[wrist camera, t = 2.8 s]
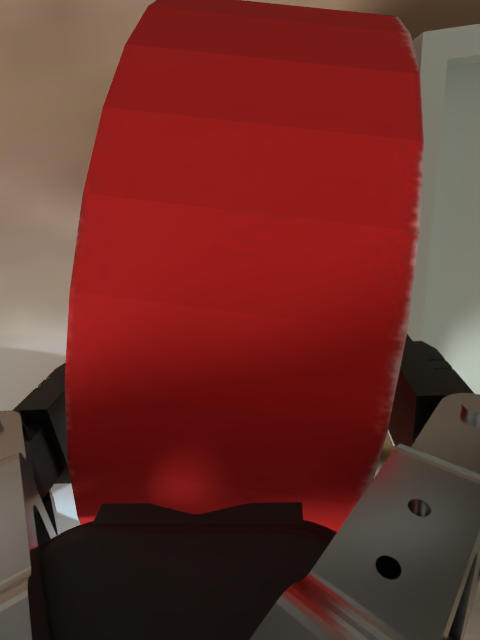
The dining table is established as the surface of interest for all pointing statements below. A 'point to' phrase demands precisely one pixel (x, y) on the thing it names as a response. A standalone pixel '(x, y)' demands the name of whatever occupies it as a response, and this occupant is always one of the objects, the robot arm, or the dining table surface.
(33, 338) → the dining table surface
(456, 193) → the tray
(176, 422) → the toy clock
